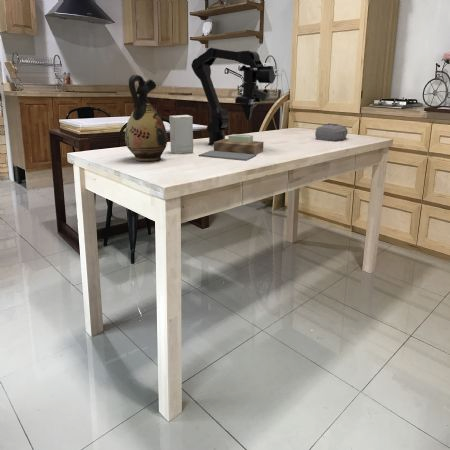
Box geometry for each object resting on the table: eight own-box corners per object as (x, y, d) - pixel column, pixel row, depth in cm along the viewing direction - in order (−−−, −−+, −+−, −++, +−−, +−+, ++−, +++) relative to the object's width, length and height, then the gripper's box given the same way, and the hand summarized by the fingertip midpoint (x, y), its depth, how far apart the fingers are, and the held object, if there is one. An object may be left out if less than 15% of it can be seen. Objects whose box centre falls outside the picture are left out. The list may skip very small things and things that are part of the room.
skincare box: (188, 150, 179) (188, 114, 174) (193, 153, 174) (193, 115, 169) (169, 151, 175) (168, 115, 170) (174, 154, 170) (173, 116, 165)
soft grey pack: (337, 142, 214) (351, 138, 229) (339, 125, 211) (353, 123, 226) (310, 139, 222) (325, 136, 237) (311, 123, 219) (327, 120, 234)
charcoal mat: (198, 156, 167) (198, 154, 167) (211, 151, 178) (211, 150, 177) (246, 160, 160) (246, 159, 160) (256, 155, 171) (256, 154, 170)
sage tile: (228, 141, 179) (228, 135, 178) (233, 139, 184) (233, 134, 183) (248, 143, 176) (248, 137, 175) (252, 141, 181) (253, 135, 180)
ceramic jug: (144, 154, 168) (141, 74, 158) (176, 158, 161) (174, 75, 151) (114, 160, 154) (108, 73, 144) (146, 165, 147) (143, 74, 137)
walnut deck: (213, 151, 178) (213, 142, 176) (224, 147, 188) (224, 138, 187) (254, 155, 171) (254, 145, 170) (263, 151, 182) (263, 141, 180)
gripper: (261, 83, 169) (259, 123, 174) (274, 83, 185) (271, 119, 190) (235, 82, 173) (234, 121, 178) (250, 82, 189) (248, 118, 194)
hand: (248, 120), depth 185 cm, fingers closed
